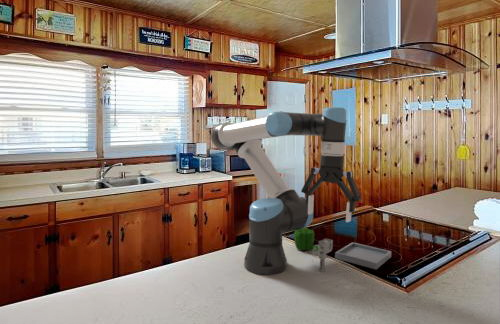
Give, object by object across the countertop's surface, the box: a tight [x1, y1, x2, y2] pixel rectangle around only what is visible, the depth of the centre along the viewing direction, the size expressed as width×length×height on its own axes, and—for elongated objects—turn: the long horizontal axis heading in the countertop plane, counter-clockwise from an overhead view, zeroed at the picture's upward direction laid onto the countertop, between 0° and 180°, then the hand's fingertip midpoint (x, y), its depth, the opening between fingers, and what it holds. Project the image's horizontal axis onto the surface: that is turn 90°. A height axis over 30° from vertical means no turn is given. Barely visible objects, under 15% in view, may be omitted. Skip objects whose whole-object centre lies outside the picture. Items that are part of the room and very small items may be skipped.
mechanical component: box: [312, 238, 334, 272], centre depth 113 cm, size 3×10×10 cm, turn 137°
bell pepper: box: [293, 227, 315, 251], centre depth 134 cm, size 8×8×10 cm
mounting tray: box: [334, 242, 392, 270], centre depth 125 cm, size 16×16×2 cm
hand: (328, 217), depth 111 cm, fingers open, 13 cm apart
